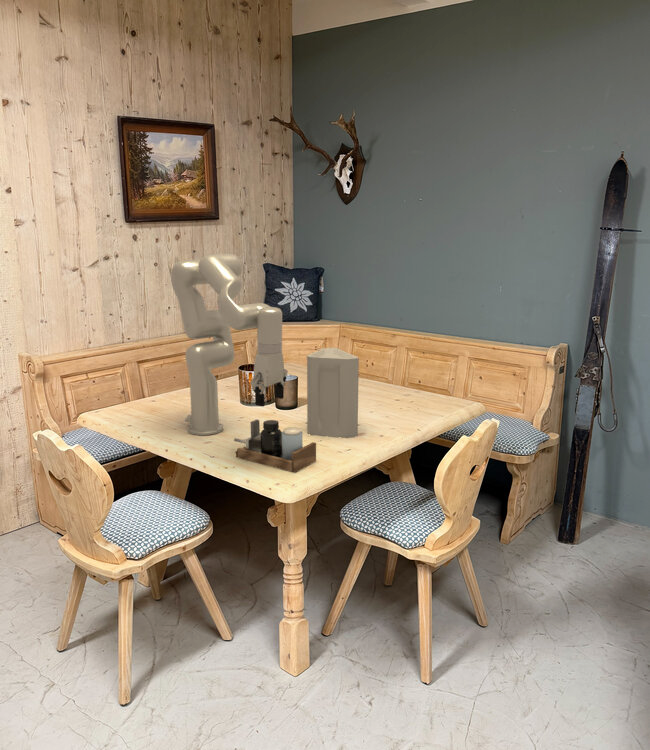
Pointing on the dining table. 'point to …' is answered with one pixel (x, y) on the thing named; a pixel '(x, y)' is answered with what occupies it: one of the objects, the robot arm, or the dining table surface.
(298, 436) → the blue jar
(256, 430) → the pusher
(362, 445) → the dining table surface
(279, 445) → the supplement bottle
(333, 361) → the grey corner cabinet
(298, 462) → the brown wooden open box
